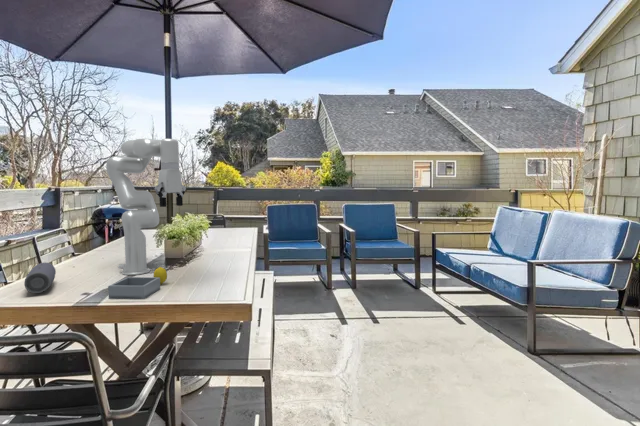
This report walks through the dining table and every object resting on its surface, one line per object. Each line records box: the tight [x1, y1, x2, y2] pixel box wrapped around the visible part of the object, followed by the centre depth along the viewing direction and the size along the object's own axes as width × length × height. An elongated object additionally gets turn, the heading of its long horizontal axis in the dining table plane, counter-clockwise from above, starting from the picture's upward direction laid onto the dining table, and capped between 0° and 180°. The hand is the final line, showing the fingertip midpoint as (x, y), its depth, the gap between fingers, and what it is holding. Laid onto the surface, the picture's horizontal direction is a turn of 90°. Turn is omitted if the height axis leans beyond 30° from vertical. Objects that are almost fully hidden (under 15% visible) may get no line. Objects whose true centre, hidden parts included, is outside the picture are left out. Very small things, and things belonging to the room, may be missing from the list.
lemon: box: [153, 266, 168, 286], centre depth 167 cm, size 6×6×8 cm
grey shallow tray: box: [107, 276, 161, 300], centre depth 153 cm, size 14×14×5 cm
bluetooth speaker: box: [23, 262, 57, 294], centre depth 159 cm, size 23×9×10 cm, turn 30°
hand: (171, 206), depth 167 cm, fingers open, 9 cm apart
